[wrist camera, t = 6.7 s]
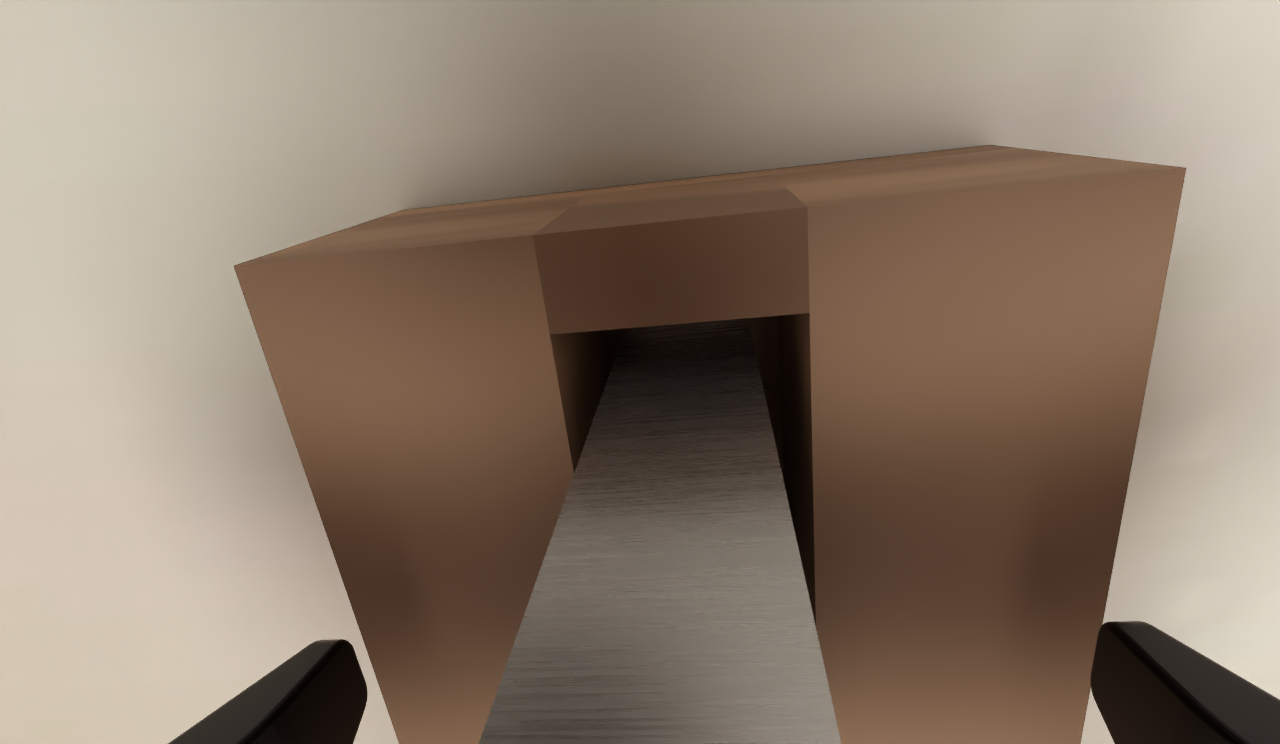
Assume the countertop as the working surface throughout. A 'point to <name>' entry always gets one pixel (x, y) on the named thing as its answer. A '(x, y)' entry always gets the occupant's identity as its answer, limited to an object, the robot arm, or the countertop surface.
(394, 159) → the countertop surface
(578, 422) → the post block
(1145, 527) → the countertop surface
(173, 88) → the countertop surface
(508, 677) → the gray concrete slab
